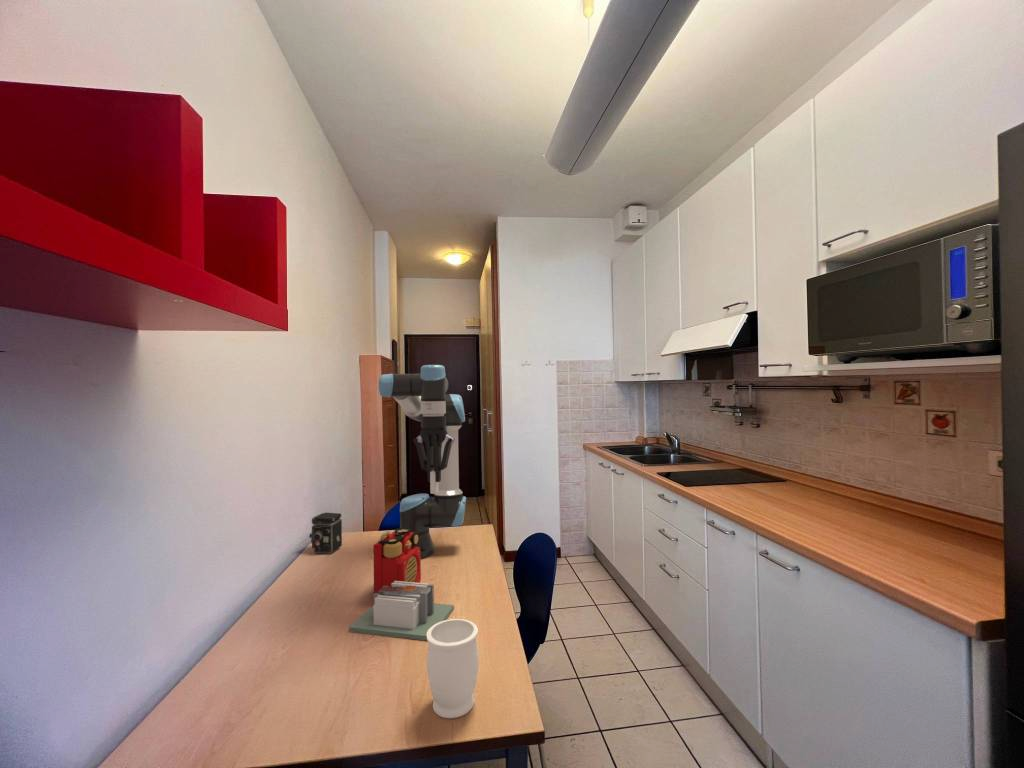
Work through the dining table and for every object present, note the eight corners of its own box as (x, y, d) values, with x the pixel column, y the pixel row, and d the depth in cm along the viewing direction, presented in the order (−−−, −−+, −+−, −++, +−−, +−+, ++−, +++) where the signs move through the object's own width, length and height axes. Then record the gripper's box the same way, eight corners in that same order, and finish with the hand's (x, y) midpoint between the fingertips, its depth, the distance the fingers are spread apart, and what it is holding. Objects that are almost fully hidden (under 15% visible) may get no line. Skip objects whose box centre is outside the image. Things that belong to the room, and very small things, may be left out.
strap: (376, 597, 123) (376, 590, 123) (382, 592, 126) (382, 584, 126) (426, 598, 119) (425, 590, 119) (431, 593, 123) (430, 585, 123)
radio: (402, 604, 131) (401, 539, 132) (372, 602, 134) (371, 537, 134) (422, 582, 147) (422, 523, 148) (395, 580, 149) (395, 522, 150)
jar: (434, 730, 82) (433, 650, 82) (422, 696, 91) (421, 624, 91) (486, 713, 86) (485, 637, 86) (470, 682, 95) (469, 613, 96)
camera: (320, 546, 185) (320, 511, 185) (343, 547, 184) (343, 511, 184) (305, 555, 175) (305, 518, 175) (330, 556, 173) (329, 518, 174)
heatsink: (348, 631, 117) (348, 596, 117) (381, 602, 133) (381, 571, 134) (430, 641, 111) (430, 604, 112) (454, 609, 128) (453, 577, 128)
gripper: (408, 416, 129) (409, 494, 129) (448, 415, 126) (450, 496, 126) (419, 414, 137) (420, 489, 136) (457, 414, 134) (458, 490, 133)
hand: (434, 492), depth 131 cm, fingers closed
